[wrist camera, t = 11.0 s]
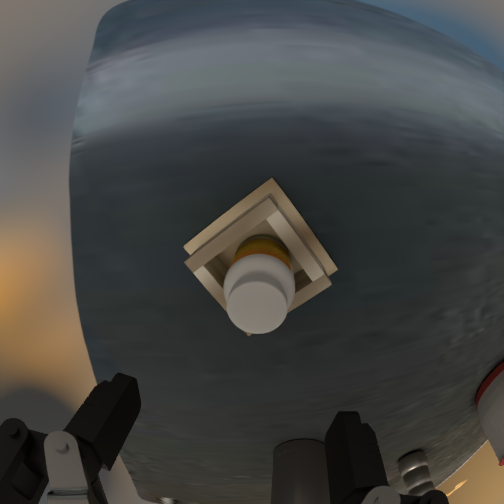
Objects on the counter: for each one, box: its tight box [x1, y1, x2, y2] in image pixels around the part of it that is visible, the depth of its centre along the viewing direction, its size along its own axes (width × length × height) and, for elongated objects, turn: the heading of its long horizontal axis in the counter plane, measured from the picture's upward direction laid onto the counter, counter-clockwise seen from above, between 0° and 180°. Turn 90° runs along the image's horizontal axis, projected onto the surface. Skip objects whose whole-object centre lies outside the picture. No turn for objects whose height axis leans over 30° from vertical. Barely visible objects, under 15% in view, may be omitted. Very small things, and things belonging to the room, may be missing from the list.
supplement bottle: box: [223, 234, 295, 334], centre depth 22 cm, size 5×5×10 cm
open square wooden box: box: [183, 177, 338, 336], centre depth 25 cm, size 11×11×5 cm
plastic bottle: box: [398, 451, 436, 496], centre depth 29 cm, size 6×7×20 cm
